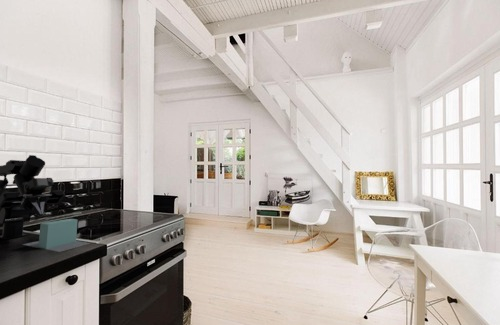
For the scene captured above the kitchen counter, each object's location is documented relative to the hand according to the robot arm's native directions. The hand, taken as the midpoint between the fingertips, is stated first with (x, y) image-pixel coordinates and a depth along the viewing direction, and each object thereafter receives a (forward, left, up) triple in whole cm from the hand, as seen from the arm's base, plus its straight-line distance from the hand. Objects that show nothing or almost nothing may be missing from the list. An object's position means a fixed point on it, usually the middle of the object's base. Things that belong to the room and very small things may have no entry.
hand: (41, 215), depth 86 cm
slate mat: (+10, 0, -10) cm, 14 cm away
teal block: (+10, 0, -9) cm, 14 cm away
